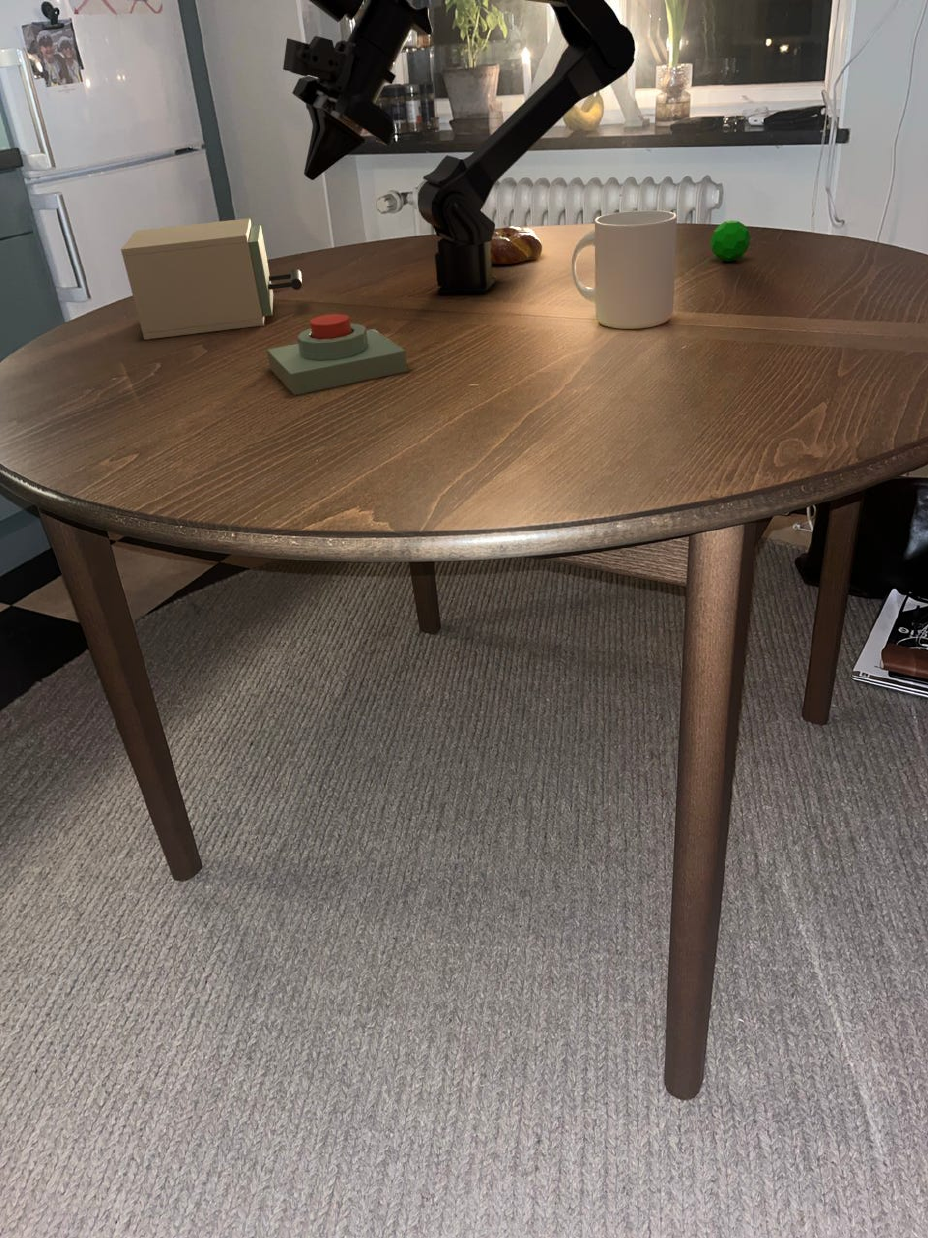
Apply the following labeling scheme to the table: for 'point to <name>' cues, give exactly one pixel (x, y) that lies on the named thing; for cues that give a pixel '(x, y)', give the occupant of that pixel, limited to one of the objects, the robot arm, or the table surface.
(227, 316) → the tan box with sleeve
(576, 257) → the mug
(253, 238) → the drawer
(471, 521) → the table surface
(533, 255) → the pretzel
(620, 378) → the table surface
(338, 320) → the button
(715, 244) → the polyhedron
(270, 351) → the control block
